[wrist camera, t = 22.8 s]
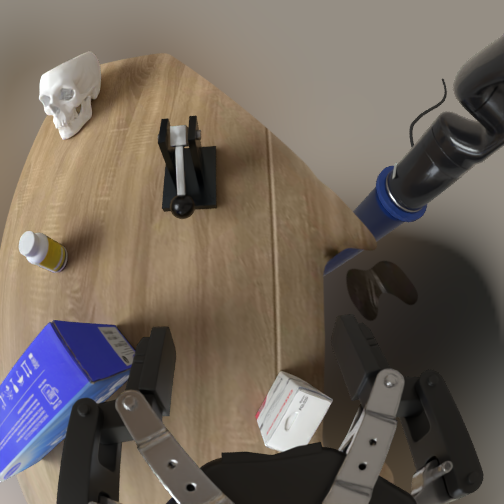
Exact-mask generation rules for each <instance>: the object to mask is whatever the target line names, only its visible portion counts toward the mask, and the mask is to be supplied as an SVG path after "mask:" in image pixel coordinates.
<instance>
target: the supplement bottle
mask: <svg viewBox="0 0 504 504" xmlns="http://www.w3.org/2000/svg"><path fill="white" fill-rule="evenodd" d="M19 251H20V253H21V254H22V255H24V256H26V258H27V260H28V261H29V262H30V263H32V264H34V265H36V266H39V267H41V268H43V269H45V270H48V271H50V272H53V273H57V272H60V271H61V270H62V269H63V268H64V267H65V265H66V262H67V251H66V249H65V247H64V246H62V245H61V244H59V243H58V242H56V241H54V240H53V239H51V238H49V237H48V236H46V235H44V234H43V233H33V232H32V231H27V232H25V233H24V234H23V235H22V237H21V239H20V241H19Z"/></svg>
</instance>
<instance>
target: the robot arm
mask: <svg viewBox="0 0 504 504" xmlns="http://www.w3.org/2000/svg"><path fill="white" fill-rule="evenodd" d="M442 81H443V85H444V89H445V94H444V97H443V99H442V101H441V102H439V103H438V104H437V105H435V106H433V107H431V108H430V109H428V110H426V111H425V112H423V113H421V114H420V115H419V116H418V117H417V118H416V119H415V120H414V121H413V122H412V124H411V126H410V142H411V147H412V148H411V149H410V151H409V152H408V153H407V154H406V155H405V156H404V157H403V159H402V160H401V161H400V162H399V163H398V164H397V163H396V164H395V165H394V169H393V170H391V171H390V172H389V174H388V175H387V176H386V178H385V190H386V193H387V196H388V197H389V199H390V201H391V202H392V203H393V204H394V205H395V206H396V207H397V208H398V209H399V210H401V211H403V212H405V213H416V212H418V211H419V210H420V209H421V208H422V207H423V206H425V205H426V204H427V203H429V202H430V201H431V200H433V199H434V198H435V197H437V196H438V195H439V194H441V193H442V192H443V191H444V190H446V189H447V188H448V187H449V186H451V185H452V184H453V183H454V182H455V181H457V180H458V179H459V178H461V177H462V176H463V175H464V174H465V173H467V172H468V171H469V170H470V169H471V168H473V167H474V166H475V165H476V164H479V163H481V162H483V161H485V160H486V159H487V158H488V157H490V156H491V155H492V154H494V153H495V152H496V151H498V150H499V149H500V148H502V147H503V146H504V34H503V35H502V36H501V37H500V38H498V39H497V40H495V41H494V42H493V43H491V44H490V45H488V46H487V47H485V48H484V49H482V50H481V51H480V52H478V53H477V54H475V55H474V56H473V57H471V58H470V59H469V60H468V61H467V62H466V63H465V64H464V65H463V66H462V67H461V69H460V70H459V72H458V73H457V75H456V77H455V80H454V84H453V90H454V94H455V97H456V99H457V100H458V101H459V103H460V104H461V105H462V106H463V107H464V108H465V109H466V110H467V111H468V112H469V113H470V114H471V115H472V116H473V117H474V118H475V119H477V121H474V120H470V119H467V118H465V117H463V116H460V115H458V114H456V113H453V112H443V113H441V114H440V115H439V116H438V117H437V118H436V120H435V121H434V122H433V123H432V124H431V126H430V127H429V128H428V129H427V130H426V132H425V133H424V134H423V135H422V137H421V138H420V139H419V140H418V141H417V142H416V144H415V145H414V143H413V137H412V130H413V126H414V124H415V123H416V122H417V121H418V120H419V119H420V118H421V117H422V116H423V115H425V114H427V113H428V112H430V111H431V110H433V109H435V108H437V107H438V106H440V105H441V104H442V103H443V102H444V101H445V98H446V94H447V91H446V85H445V82H444V79H442ZM331 345H332V349H333V352H334V354H335V357H336V360H337V362H338V365H339V367H340V370H341V373H342V376H343V378H344V381H345V384H346V386H347V389H348V392H349V395H350V397H351V400H352V401H353V400H357V399H359V400H360V402H361V404H360V406H359V409H358V411H357V414H356V416H355V418H354V420H353V423H352V425H351V428H350V429H349V432H348V434H347V436H346V438H345V439H344V441H343V443H342V445H341V446H340V448H339V450H336V449H332V448H327V447H322V445H321V442H318V443H313V444H307V445H301V446H296V447H294V448H291V449H289V450H286V451H283V452H281V453H278V454H275V455H267V454H259V453H252V452H230V453H222V458H218V459H215V460H213V461H210V462H208V463H206V464H205V465H203V466H202V467H201V468H199V467H198V466H197V465H196V464H195V462H194V461H193V460H192V459H191V458H190V457H189V455H188V454H187V453H186V452H185V451H184V449H183V448H182V447H181V446H180V444H179V443H178V442H177V441H176V439H175V438H174V437H173V436H172V434H171V433H170V432H169V431H168V430H167V428H166V427H165V426H164V424H163V423H162V416H169V415H170V404H171V395H172V386H173V378H174V370H175V362H176V350H175V346H174V342H173V339H172V336H171V332H170V329H169V327H152V330H151V334H150V337H143V338H142V339H141V341H140V342H139V343H138V344H137V347H136V350H135V356H134V358H133V363H132V366H131V370H130V374H129V378H128V382H127V386H126V389H125V391H124V392H122V393H121V394H120V395H119V396H118V397H117V399H116V400H113V401H108V402H103V403H96V402H95V401H94V400H93V399H91V398H81V399H79V400H77V401H76V402H75V403H74V405H73V406H72V410H71V414H70V418H69V423H68V427H67V432H66V437H65V442H64V448H63V454H62V460H61V466H60V474H59V482H58V492H57V504H121V503H119V479H120V461H121V448H122V442H126V441H132V440H134V441H135V442H136V444H137V446H138V447H137V448H138V450H139V452H140V453H141V455H142V456H143V458H144V459H145V461H146V462H147V464H148V465H149V467H150V468H151V469H152V471H153V472H154V474H155V475H156V476H157V478H158V479H159V480H160V482H161V483H162V484H163V485H164V487H165V488H166V489H167V491H168V492H169V493H170V494H171V496H172V498H171V499H170V500H169V501H168V502H167V503H166V504H448V503H450V502H453V501H455V500H457V499H460V498H462V497H464V496H466V495H468V494H470V493H473V492H474V491H476V490H477V489H478V488H479V487H480V485H481V484H482V481H483V471H482V468H481V465H480V462H479V459H478V457H477V454H476V451H475V448H474V446H473V443H472V441H471V438H470V436H469V433H468V431H467V429H466V426H465V424H464V422H463V419H462V417H461V415H460V412H459V410H458V408H457V406H456V404H455V402H454V400H453V397H452V396H451V393H450V391H449V389H448V387H447V385H446V383H445V381H444V379H443V378H442V376H441V375H440V374H439V373H438V372H436V371H434V370H426V371H425V372H423V373H422V374H421V375H420V377H404V376H402V375H401V374H400V373H399V372H398V371H396V370H394V369H391V368H390V366H389V364H388V362H387V360H386V358H385V356H384V354H383V353H382V351H381V349H380V347H379V345H378V343H377V341H376V339H374V336H373V334H372V332H371V330H370V329H369V328H368V327H367V326H366V325H365V324H363V323H359V324H358V322H357V320H356V319H355V317H354V315H353V314H349V315H342V316H338V317H337V318H336V322H335V326H334V330H333V333H332V338H331ZM395 417H399V418H400V420H401V424H402V426H403V429H404V432H405V435H406V438H407V441H408V445H409V448H410V451H411V454H412V457H413V460H414V464H415V467H416V470H417V471H416V472H415V474H414V476H413V478H412V484H411V487H412V491H411V493H410V494H409V493H408V492H406V491H404V490H402V489H401V488H399V487H397V486H395V485H394V484H392V483H390V482H389V481H387V480H385V479H384V478H382V477H381V476H379V474H380V471H381V469H382V466H383V464H384V461H385V458H386V455H387V453H388V450H389V448H390V445H391V441H392V439H393V436H394V433H395V429H396V426H397V420H395Z"/></svg>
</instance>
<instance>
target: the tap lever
mask: <svg viewBox="0 0 504 504" xmlns="http://www.w3.org/2000/svg"><path fill="white" fill-rule="evenodd" d="M187 139H188V127H187V126H186V125H181V126H171V127H170V146H171V147H175V151H176V176H177V194H178V195H176V196H175V197H174V198H173V199H172V201H171V203H170V210H171V212H172V214H173V215H174V216H175V217H176V218H179V219H186V218H188V217H190V216H191V215H192V214H193V212H194V210H195V202H194V200H193V198H192V197H191V196H189V195H187V194H186V183H185V160H184V147H185V146H189V144H188V140H187Z"/></svg>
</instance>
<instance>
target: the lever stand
mask: <svg viewBox="0 0 504 504" xmlns="http://www.w3.org/2000/svg"><path fill="white" fill-rule="evenodd" d="M170 127H171V126H170V123H169V119H162V120H161V126H160V132H159V134H158V144H159V147H160V150H161V152H162V155H163V158H164V160H165V163H166V167H165V177H164V189H163V202H162V209H163V211H164V212H166V211H171V210H170V203H171V201H172V199H173V198H174V197H175V196H176V195H178V194H177V176H176V151H175V147H171V146H170ZM187 140H188V144H189V148H184V160H185V183H186V194H187V195H189V196H191V197H192V198H193V200H194V202H195V209H212V208H217V198H216V146H211V147H201V141H200V140H201V130H199V128H198V122H197V116H190V117H189V127H188V139H187Z"/></svg>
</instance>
